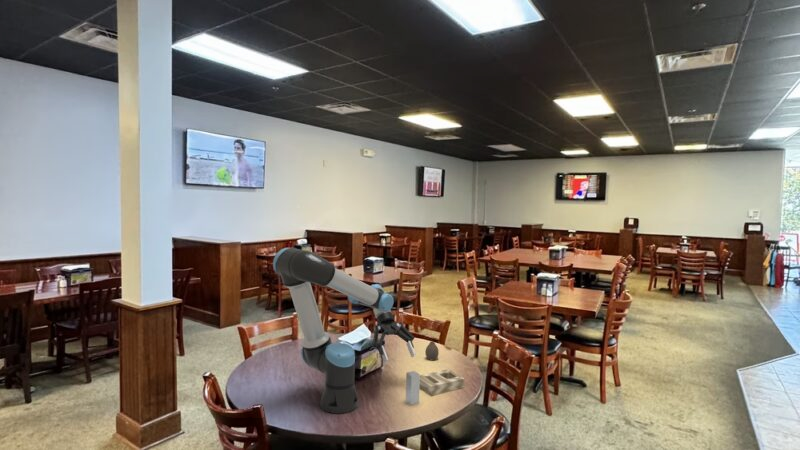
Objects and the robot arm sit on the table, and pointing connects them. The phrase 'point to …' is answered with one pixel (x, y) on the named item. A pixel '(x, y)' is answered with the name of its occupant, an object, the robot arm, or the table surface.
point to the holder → (440, 382)
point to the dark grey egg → (431, 351)
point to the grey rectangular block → (412, 387)
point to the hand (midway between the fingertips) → (400, 358)
